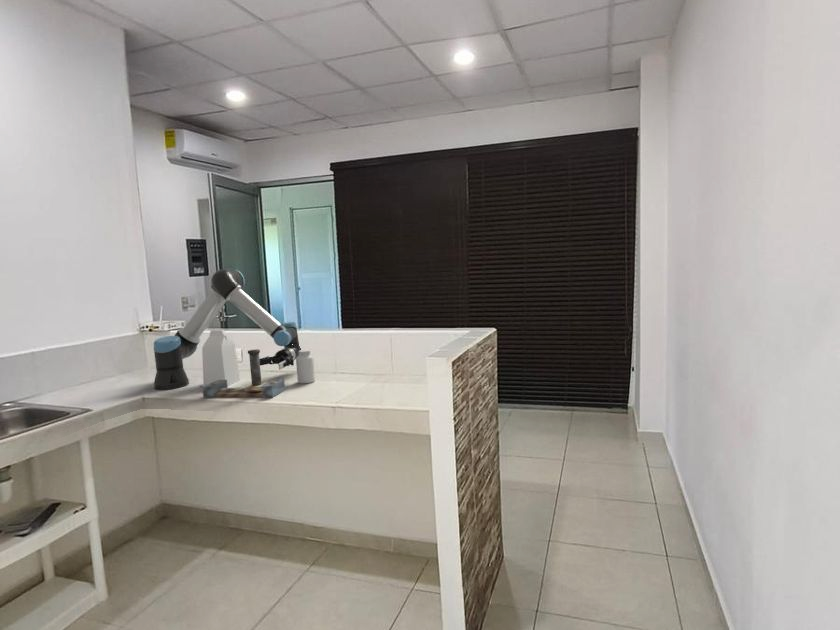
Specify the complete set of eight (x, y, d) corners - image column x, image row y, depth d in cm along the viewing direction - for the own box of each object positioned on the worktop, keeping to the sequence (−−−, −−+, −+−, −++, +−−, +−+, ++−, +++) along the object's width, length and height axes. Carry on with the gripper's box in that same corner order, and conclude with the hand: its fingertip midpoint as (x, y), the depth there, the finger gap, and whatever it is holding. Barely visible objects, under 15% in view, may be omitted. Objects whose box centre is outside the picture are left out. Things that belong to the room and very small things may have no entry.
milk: (203, 386, 240) (198, 332, 237) (218, 380, 251) (213, 328, 248) (225, 386, 237) (220, 331, 234) (240, 380, 248) (235, 328, 245)
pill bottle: (317, 379, 242) (315, 349, 240) (309, 384, 234) (307, 352, 232) (303, 379, 244) (300, 348, 242) (294, 383, 236) (292, 352, 234)
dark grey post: (245, 392, 217) (241, 352, 215) (254, 387, 225) (250, 348, 223) (260, 392, 216) (256, 352, 214) (268, 387, 224) (265, 348, 222)
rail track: (203, 398, 218) (202, 385, 218) (218, 390, 230) (217, 378, 230) (272, 397, 213) (271, 385, 213) (285, 390, 225) (284, 378, 224)
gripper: (309, 363, 247) (292, 374, 226) (261, 364, 251) (240, 375, 230) (308, 348, 246) (290, 358, 225) (260, 349, 250) (238, 359, 229)
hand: (265, 366), depth 227 cm, fingers open, 13 cm apart
